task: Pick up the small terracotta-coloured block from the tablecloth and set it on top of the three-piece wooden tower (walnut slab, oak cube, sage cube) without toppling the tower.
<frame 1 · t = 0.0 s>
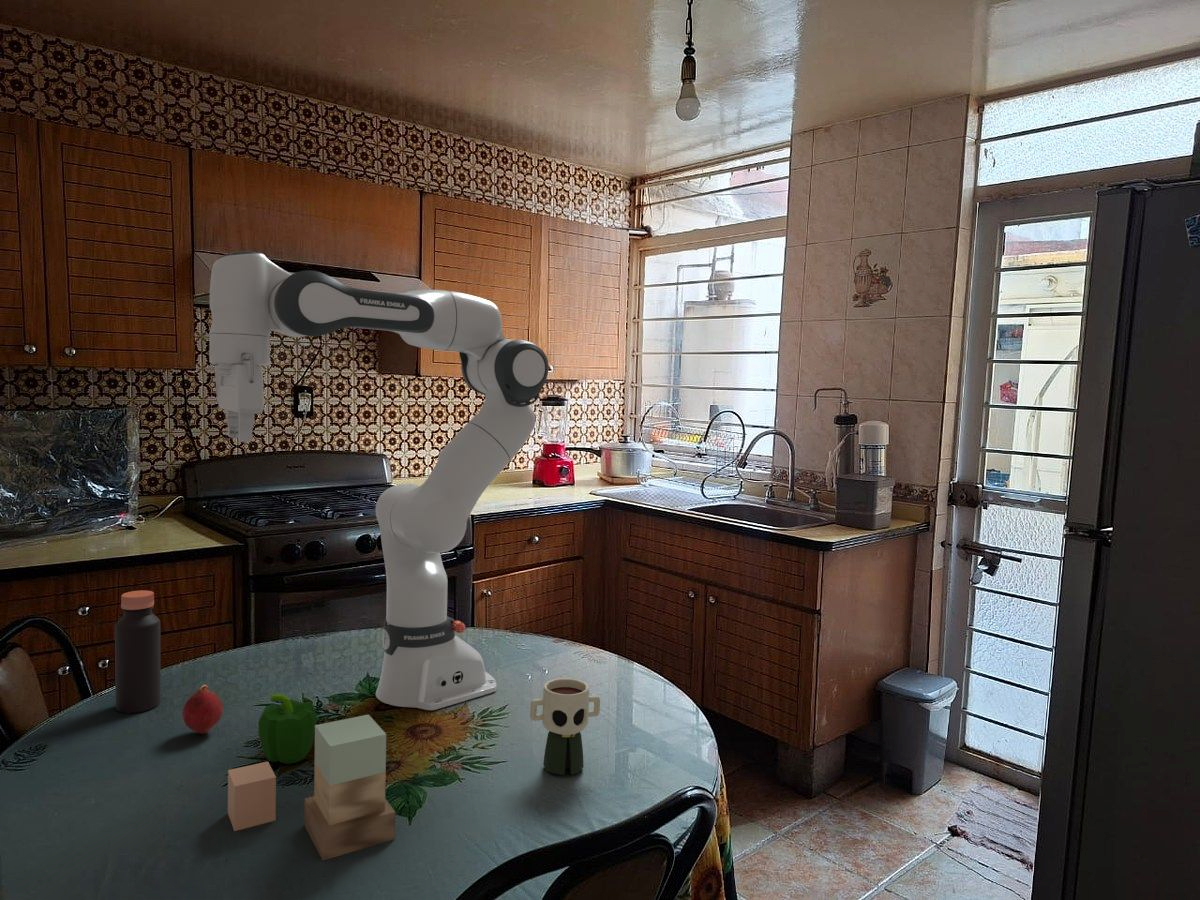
hand: (239, 439, 127), 48 cm above the table, fingers open, 8 cm apart
walnut slab: (349, 834, 102), on the table, touching oak cube
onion: (202, 734, 128), on the table
bell pepper: (288, 758, 121), on the table
character mug: (563, 769, 121), on the table
bottle: (138, 707, 138), on the table
oak cube: (349, 805, 102), point 4 cm above the table, touching sage cube, walnut slab
sage cube: (349, 767, 101), point 9 cm above the table, touching oak cube
terracotta block: (251, 817, 104), on the table
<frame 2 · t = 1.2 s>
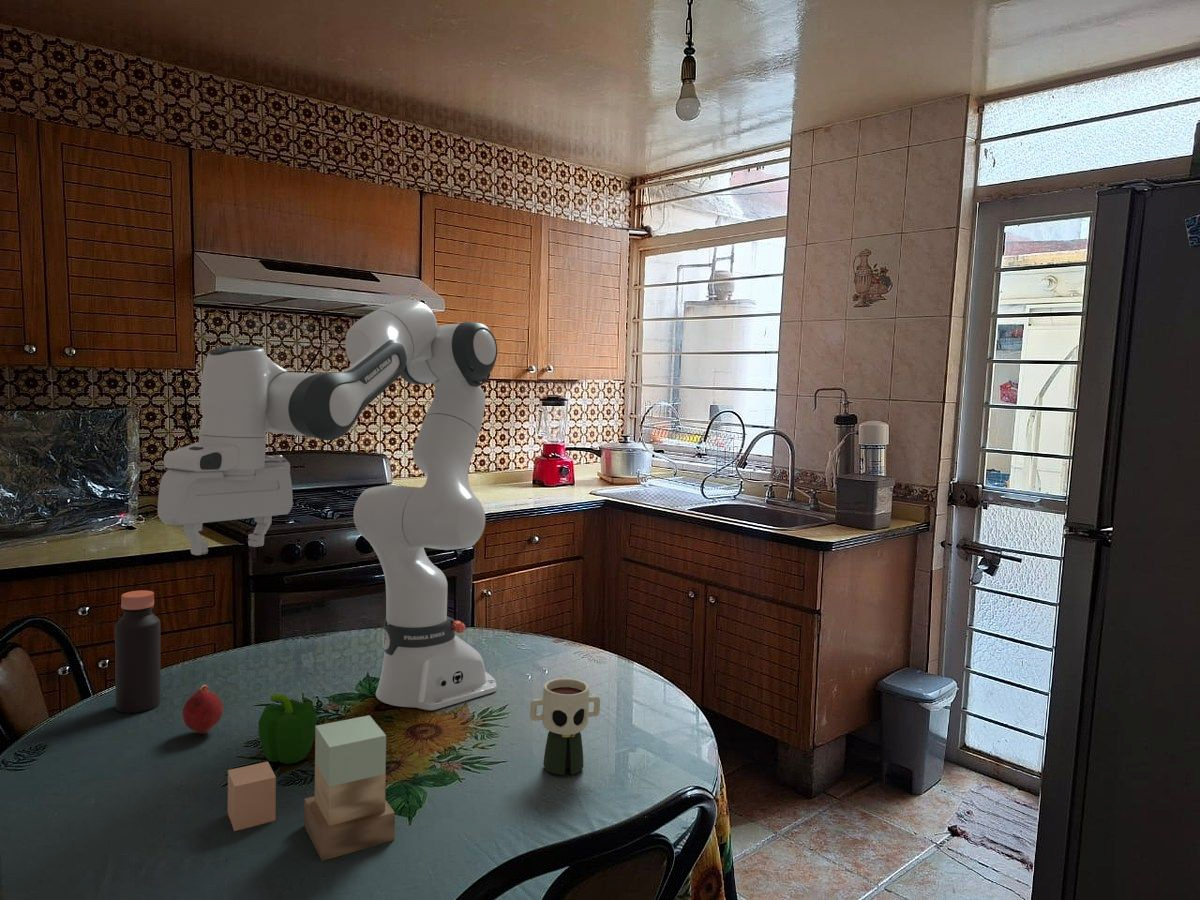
hand: (228, 550, 115), 33 cm above the table, fingers open, 8 cm apart
nothing on the table moved.
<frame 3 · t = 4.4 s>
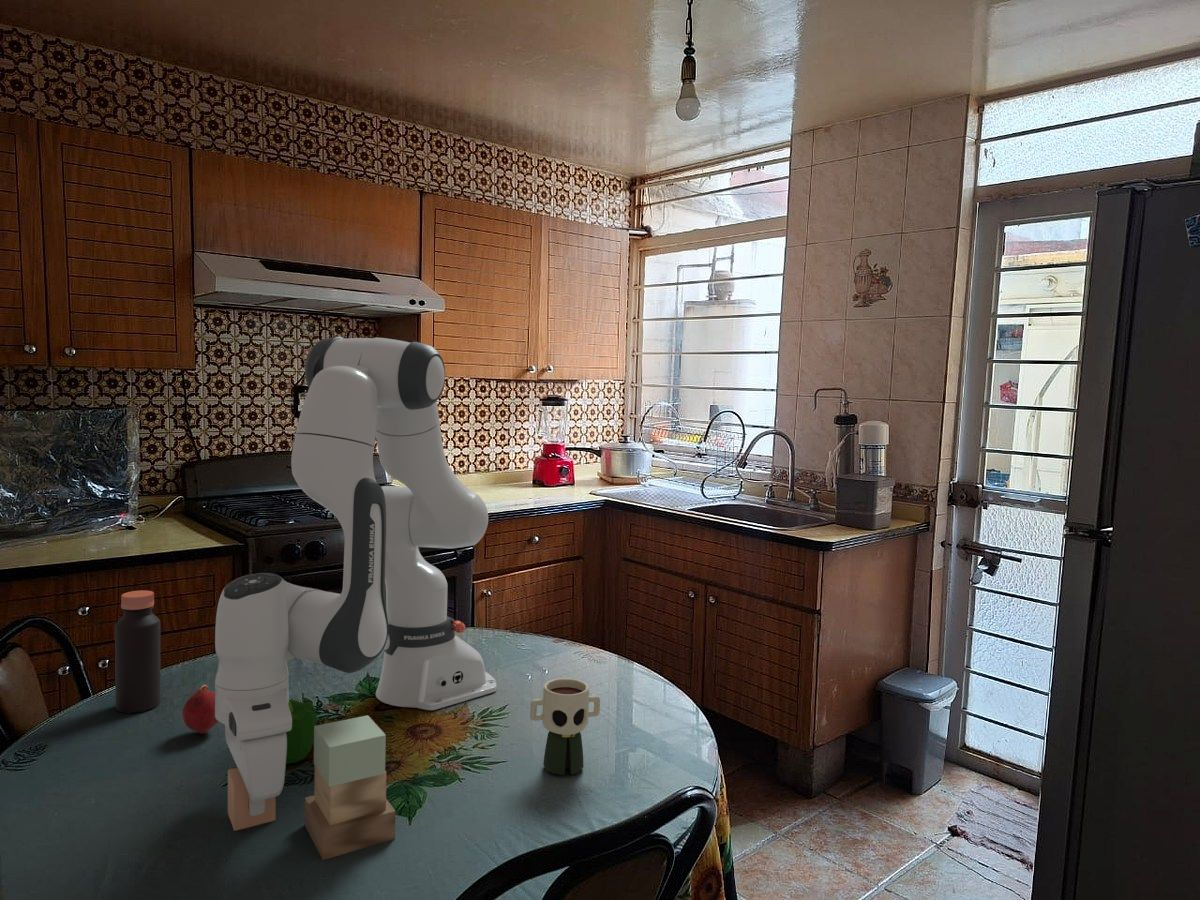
hand: (251, 801, 104), 2 cm above the table, fingers closed on terracotta block, 5 cm apart
walnut slab: (349, 833, 102), on the table
oak cube: (349, 804, 101), point 4 cm above the table, touching sage cube
terracotta block: (251, 816, 104), on the table, touching gripper
everything else where it was.
when the fingers open (17 cm above the table, at t = 9.7 s): terracotta block stays where it is, resting on sage cube.
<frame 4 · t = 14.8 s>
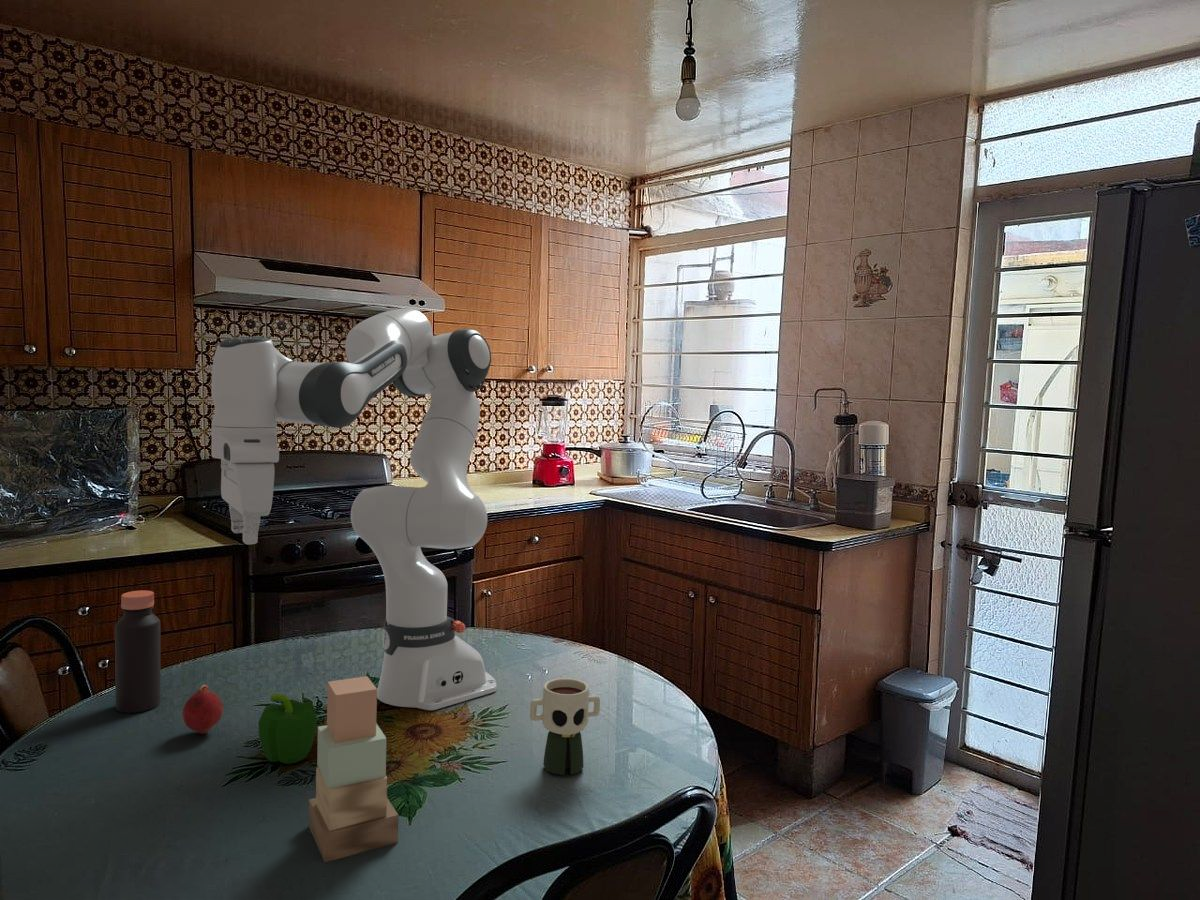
hand: (244, 537, 118), 34 cm above the table, fingers open, 8 cm apart
walnut slab: (352, 836, 101), on the table, touching oak cube
oak cube: (350, 810, 100), point 4 cm above the table, touching sage cube, walnut slab
sage cube: (351, 770, 100), point 9 cm above the table, touching oak cube, terracotta block
terracotta block: (351, 731, 100), point 14 cm above the table, touching sage cube
everything else where it was.
at the end: terracotta block 0.4 cm off-centre on the sage cube, point 5.0 cm above the sage cube's base; terracotta block point 13.6 cm above the table; sage cube tilted 0° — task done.
